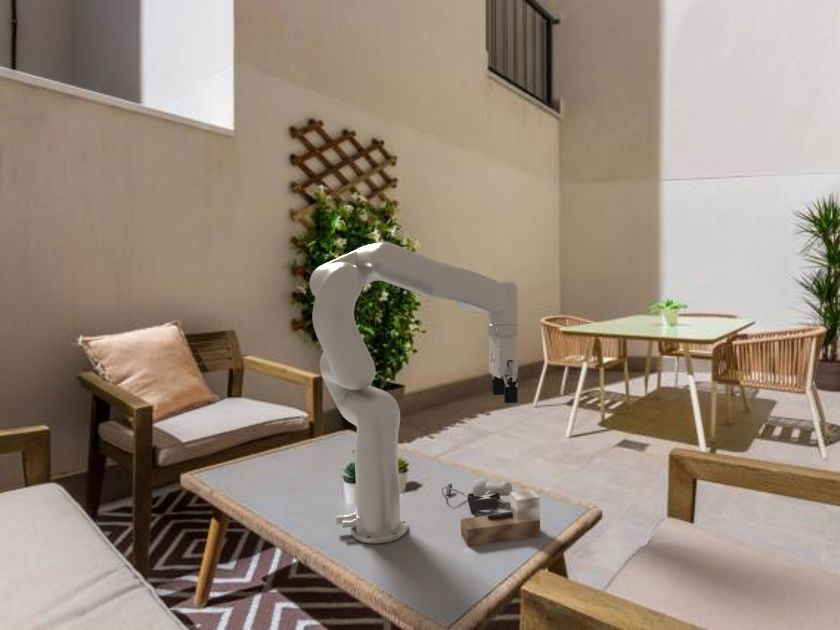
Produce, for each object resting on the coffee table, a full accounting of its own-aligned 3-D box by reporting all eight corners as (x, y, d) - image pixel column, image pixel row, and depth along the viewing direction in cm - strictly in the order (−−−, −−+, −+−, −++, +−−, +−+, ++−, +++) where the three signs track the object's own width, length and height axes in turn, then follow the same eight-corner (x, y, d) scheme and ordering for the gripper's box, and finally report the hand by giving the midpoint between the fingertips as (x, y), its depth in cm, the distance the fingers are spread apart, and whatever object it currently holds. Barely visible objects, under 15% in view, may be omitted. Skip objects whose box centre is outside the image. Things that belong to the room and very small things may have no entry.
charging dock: (467, 546, 106) (466, 505, 106) (459, 531, 113) (458, 493, 112) (540, 536, 109) (539, 497, 109) (528, 522, 116) (527, 485, 115)
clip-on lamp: (434, 516, 127) (499, 516, 117) (428, 491, 127) (491, 490, 117) (457, 494, 137) (519, 493, 127) (451, 471, 137) (512, 468, 127)
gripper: (479, 329, 137) (481, 392, 138) (499, 334, 120) (500, 407, 121) (506, 327, 138) (508, 391, 139) (529, 333, 121) (531, 405, 122)
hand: (504, 398), depth 130 cm, fingers open, 9 cm apart
